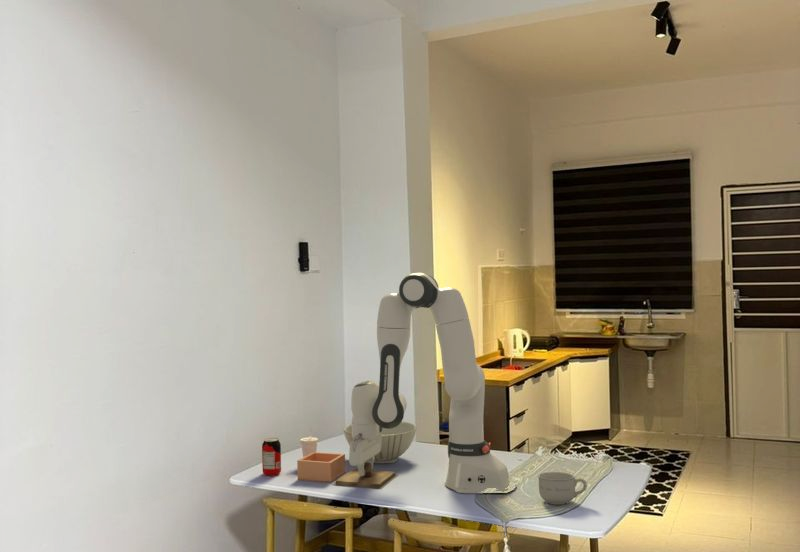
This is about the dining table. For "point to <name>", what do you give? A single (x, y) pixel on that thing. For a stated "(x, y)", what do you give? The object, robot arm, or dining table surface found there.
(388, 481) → the rubber mat
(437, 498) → the dining table surface
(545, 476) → the teacup
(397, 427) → the decorative bowl
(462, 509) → the dining table surface
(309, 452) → the smoothie
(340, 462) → the terracotta open box
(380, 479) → the walnut lid
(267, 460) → the beverage can
